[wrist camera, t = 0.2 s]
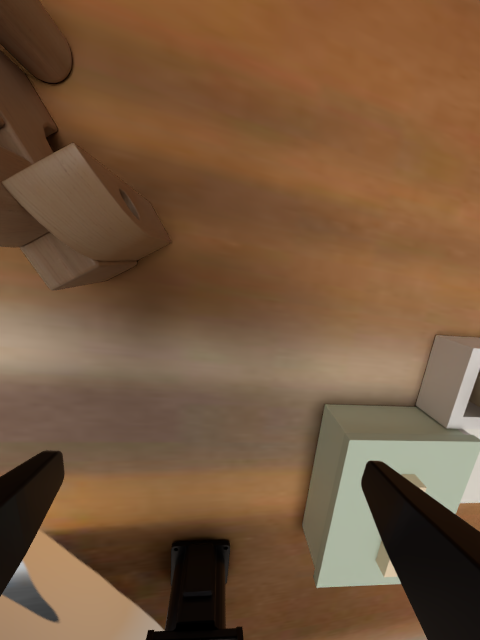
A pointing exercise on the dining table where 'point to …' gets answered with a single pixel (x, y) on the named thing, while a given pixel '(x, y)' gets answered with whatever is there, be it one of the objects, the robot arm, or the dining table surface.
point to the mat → (473, 477)
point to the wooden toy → (59, 171)
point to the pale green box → (390, 463)
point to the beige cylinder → (476, 392)
